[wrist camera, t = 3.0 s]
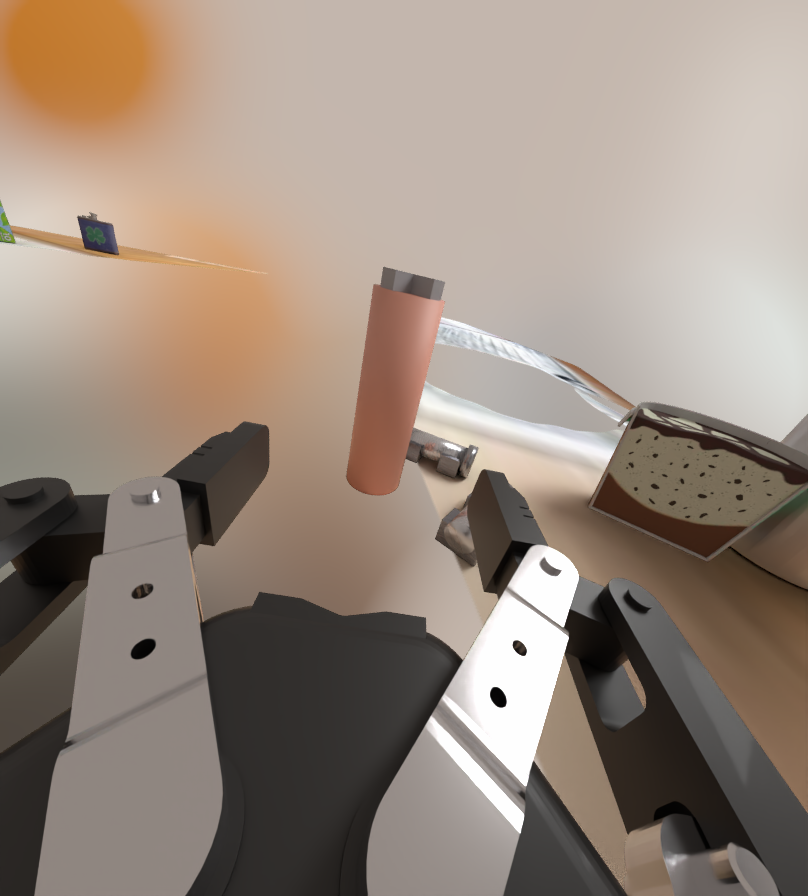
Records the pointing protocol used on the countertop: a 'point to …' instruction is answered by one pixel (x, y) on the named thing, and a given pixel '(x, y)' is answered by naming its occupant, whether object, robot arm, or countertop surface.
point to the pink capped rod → (392, 377)
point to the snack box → (5, 228)
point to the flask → (98, 234)
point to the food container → (696, 478)
